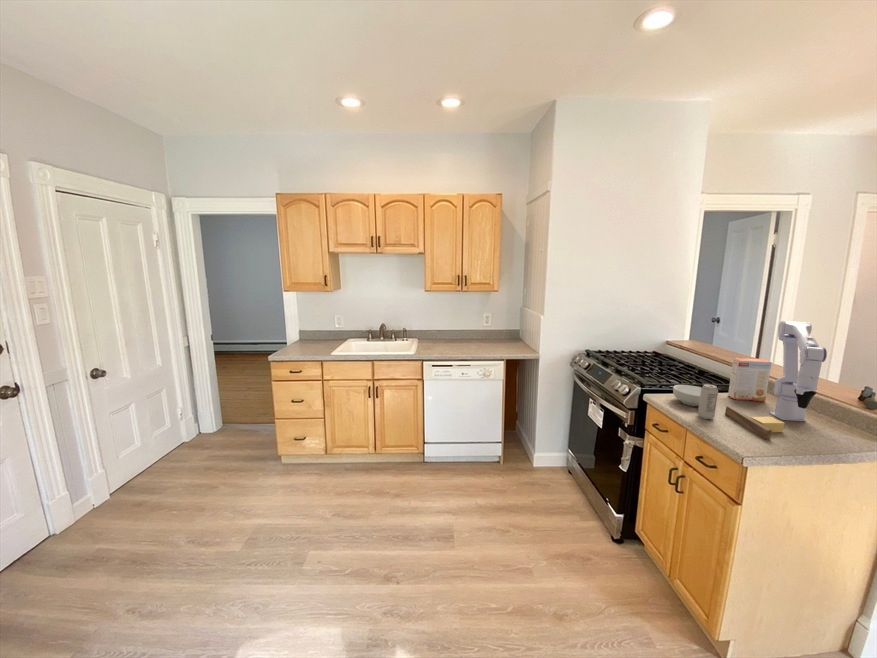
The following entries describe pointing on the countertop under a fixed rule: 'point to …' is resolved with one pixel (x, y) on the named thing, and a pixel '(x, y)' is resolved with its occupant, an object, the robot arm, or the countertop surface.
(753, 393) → the cracker box
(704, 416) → the energy drink can
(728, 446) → the countertop surface
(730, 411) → the walnut board
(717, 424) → the countertop surface
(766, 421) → the ochre block
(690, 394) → the cereal bowl
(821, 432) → the countertop surface
